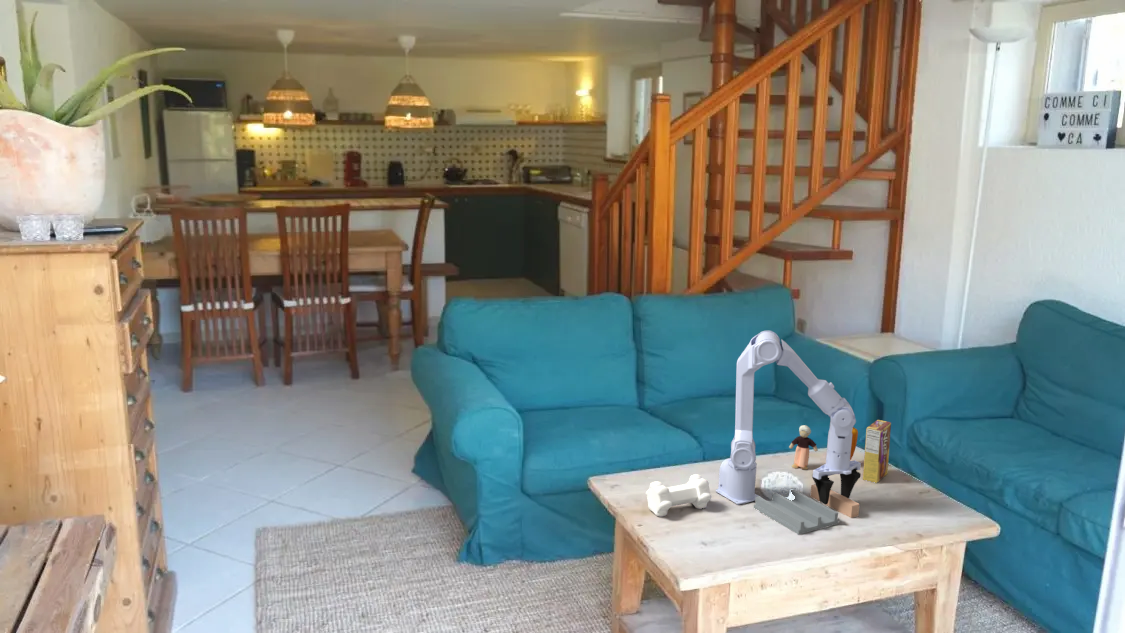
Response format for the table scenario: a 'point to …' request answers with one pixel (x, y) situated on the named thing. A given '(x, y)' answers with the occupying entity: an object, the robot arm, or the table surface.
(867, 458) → the candy box
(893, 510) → the table surface
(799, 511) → the rack
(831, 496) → the clay strip
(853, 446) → the carrot
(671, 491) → the white bone
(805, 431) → the grandmother figurine
